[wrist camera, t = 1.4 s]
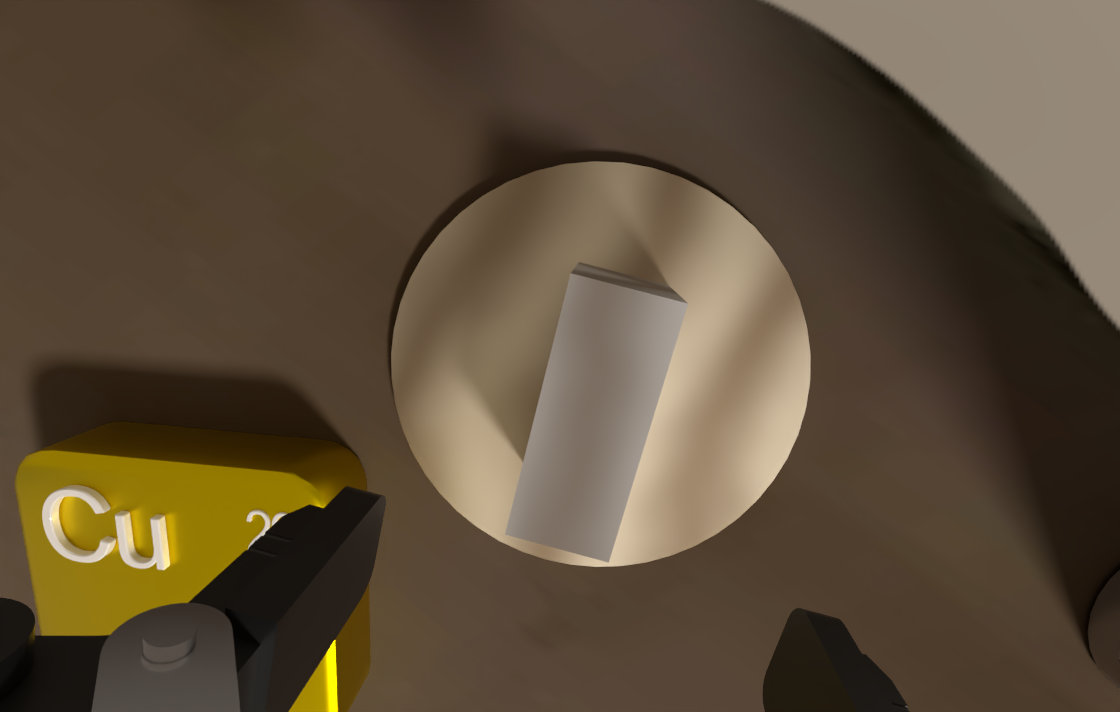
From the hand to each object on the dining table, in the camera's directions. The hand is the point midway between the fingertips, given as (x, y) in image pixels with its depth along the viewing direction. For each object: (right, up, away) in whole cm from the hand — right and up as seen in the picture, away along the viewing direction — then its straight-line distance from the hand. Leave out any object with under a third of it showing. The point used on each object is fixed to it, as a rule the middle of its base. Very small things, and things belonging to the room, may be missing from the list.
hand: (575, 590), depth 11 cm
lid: (+1, +4, +16) cm, 16 cm away
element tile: (-18, -6, +20) cm, 27 cm away
